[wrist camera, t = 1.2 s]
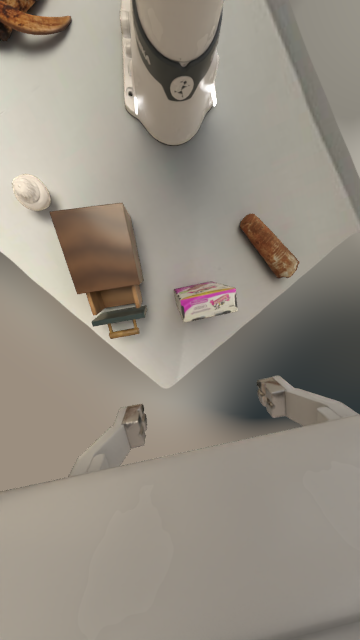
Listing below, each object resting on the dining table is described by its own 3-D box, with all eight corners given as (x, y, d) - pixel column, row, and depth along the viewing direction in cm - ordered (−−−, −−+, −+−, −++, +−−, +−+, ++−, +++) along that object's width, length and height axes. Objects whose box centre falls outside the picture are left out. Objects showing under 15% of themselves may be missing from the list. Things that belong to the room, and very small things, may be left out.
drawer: (150, 324, 48) (148, 334, 41) (107, 331, 47) (98, 343, 40) (135, 255, 42) (130, 253, 35) (87, 262, 42) (71, 262, 34)
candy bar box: (211, 280, 47) (237, 286, 32) (213, 297, 49) (239, 312, 34) (172, 288, 47) (179, 299, 31) (175, 305, 48) (184, 324, 33)
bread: (273, 279, 50) (287, 281, 44) (233, 227, 44) (243, 221, 39) (291, 263, 49) (306, 263, 43) (252, 207, 43) (264, 199, 38)
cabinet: (143, 280, 45) (140, 284, 36) (93, 288, 44) (77, 294, 35) (130, 216, 41) (122, 202, 31) (74, 223, 40) (49, 211, 31)
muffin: (57, 186, 37) (35, 168, 31) (59, 217, 39) (38, 207, 32) (25, 179, 36) (-5, 160, 30) (28, 212, 38) (1, 201, 31)
